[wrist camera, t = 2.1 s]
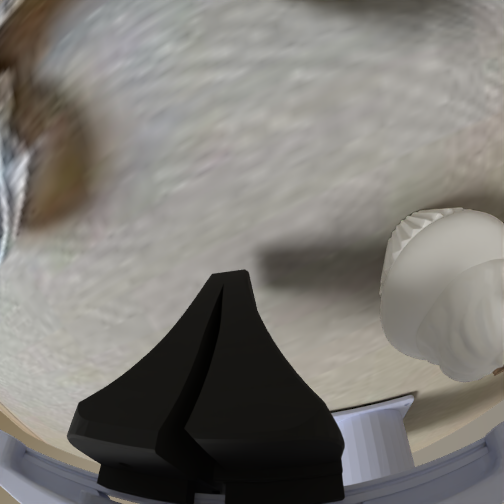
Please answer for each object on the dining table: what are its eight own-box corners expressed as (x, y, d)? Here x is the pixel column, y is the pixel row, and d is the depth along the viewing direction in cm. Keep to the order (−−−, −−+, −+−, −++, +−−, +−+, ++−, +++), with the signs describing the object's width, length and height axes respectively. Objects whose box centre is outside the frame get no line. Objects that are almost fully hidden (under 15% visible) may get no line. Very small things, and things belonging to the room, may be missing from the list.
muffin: (486, 201, 10) (584, 292, 4) (432, 303, 13) (487, 410, 7) (385, 155, 9) (519, 261, 3) (332, 287, 13) (372, 433, 7)
